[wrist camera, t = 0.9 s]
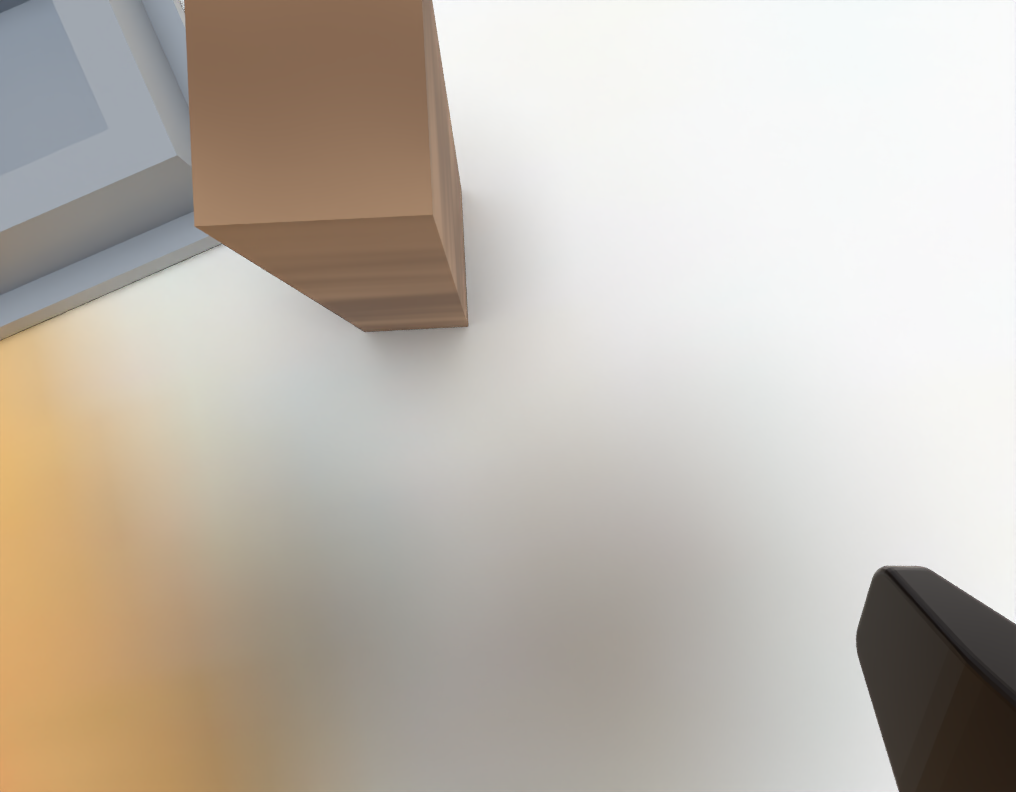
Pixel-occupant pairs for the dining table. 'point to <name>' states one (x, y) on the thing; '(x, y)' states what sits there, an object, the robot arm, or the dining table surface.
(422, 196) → the brown wooden block
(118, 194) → the end cap
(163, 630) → the dining table surface
